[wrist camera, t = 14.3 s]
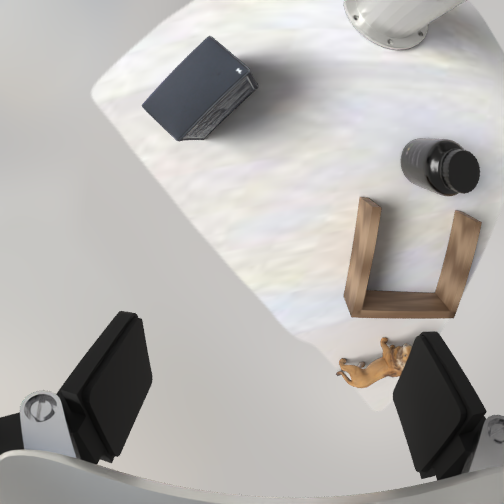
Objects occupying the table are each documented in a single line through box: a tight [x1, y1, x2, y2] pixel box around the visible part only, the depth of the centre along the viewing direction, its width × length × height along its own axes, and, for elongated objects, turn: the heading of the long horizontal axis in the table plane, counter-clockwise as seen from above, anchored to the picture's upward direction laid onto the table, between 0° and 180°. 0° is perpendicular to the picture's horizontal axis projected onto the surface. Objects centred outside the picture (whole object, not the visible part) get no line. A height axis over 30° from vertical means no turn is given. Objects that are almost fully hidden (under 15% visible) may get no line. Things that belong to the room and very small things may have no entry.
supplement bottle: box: [401, 138, 480, 196], centre depth 32 cm, size 7×7×12 cm
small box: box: [142, 36, 258, 141], centre depth 32 cm, size 11×6×10 cm, turn 134°
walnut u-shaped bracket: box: [344, 197, 482, 318], centre depth 40 cm, size 15×17×6 cm
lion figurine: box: [336, 338, 412, 388], centre depth 45 cm, size 15×5×9 cm, turn 131°
